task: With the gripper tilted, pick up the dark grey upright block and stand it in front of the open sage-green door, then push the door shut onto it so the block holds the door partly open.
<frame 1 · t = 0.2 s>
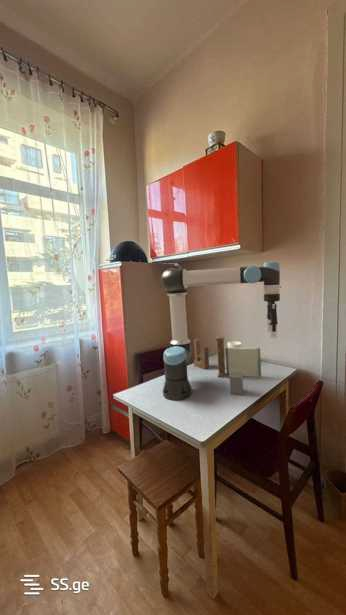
hand: (271, 334, 127), 27 cm above the table, tool pointing down, fingers open, 13 cm apart
foam cup: (235, 361, 172), on the table
door post: (222, 375, 148), on the table
door: (243, 361, 144), point 9 cm above the table, hinge at 0.0°
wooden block: (201, 367, 166), on the table
dark grey upright block: (236, 392, 126), on the table
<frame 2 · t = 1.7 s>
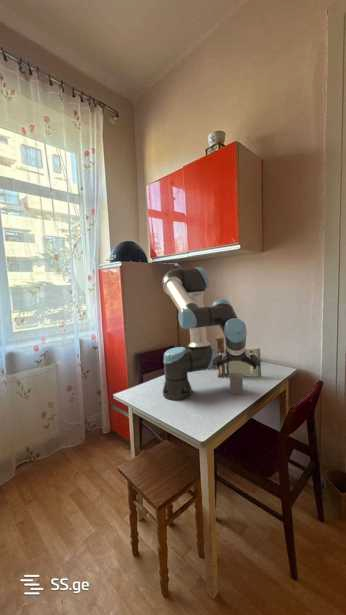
hand: (236, 370, 114), 15 cm above the table, tool tilted 45°, fingers open, 13 cm apart
nothing on the table moved.
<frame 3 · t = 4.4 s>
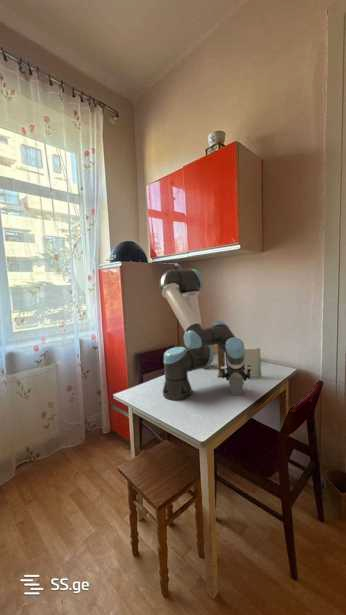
hand: (236, 381, 129), 4 cm above the table, tool tilted 45°, fingers closed on dark grey upright block, 6 cm apart
dark grey upright block: (236, 392, 126), on the table, touching gripper
everything else where it was.
when the fingers open (5 cm above the table, at t = 10.3 s): dark grey upright block stays where it is, on the table.
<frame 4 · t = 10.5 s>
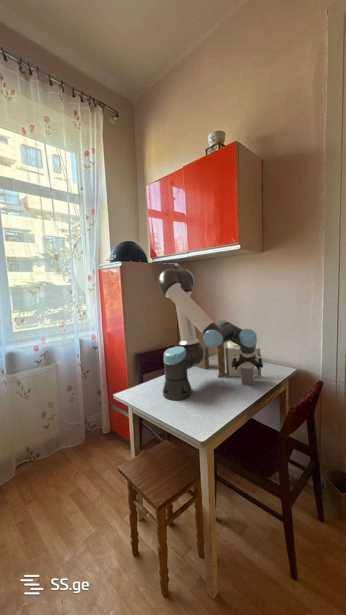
hand: (246, 371, 139), 5 cm above the table, tool tilted 45°, fingers open, 9 cm apart
dark grey upright block: (247, 382, 136), on the table
everything else where it was.
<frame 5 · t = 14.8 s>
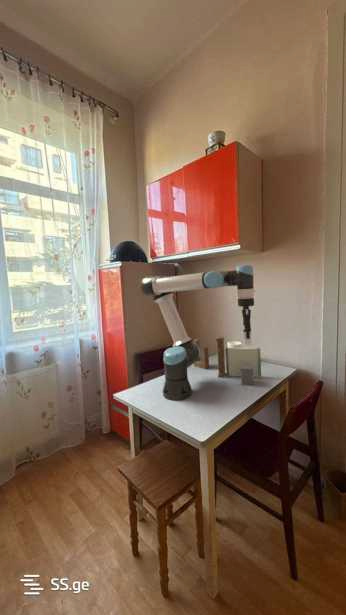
hand: (247, 341, 121), 26 cm above the table, tool pointing down, fingers open, 12 cm apart
nothing on the table moved.
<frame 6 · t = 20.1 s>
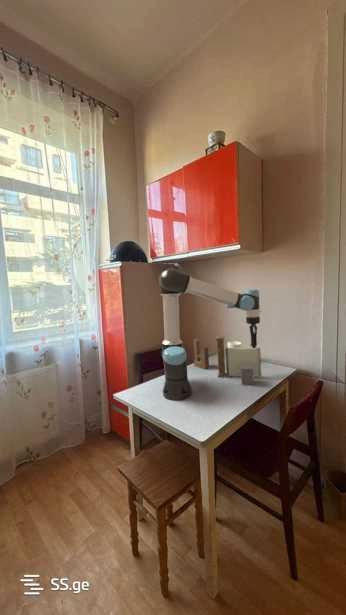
hand: (254, 355, 146), 11 cm above the table, tool pointing down, fingers closed
door: (243, 361, 144), point 9 cm above the table, hinge at -0.1°, touching gripper
everything else where it was.
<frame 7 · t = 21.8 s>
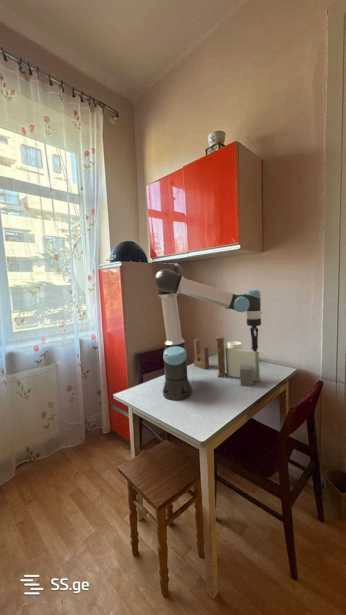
hand: (255, 359, 139), 11 cm above the table, tool pointing down, fingers closed
door: (241, 364, 141), point 9 cm above the table, hinge at -24.0°, touching dark grey upright block, gripper
dark grey upright block: (246, 383, 135), on the table, touching door
everything else where it was.
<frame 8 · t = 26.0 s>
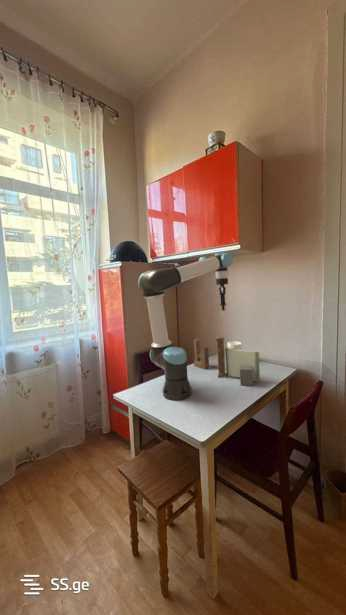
hand: (223, 315, 158), 34 cm above the table, tool pointing down, fingers closed
door: (241, 364, 141), point 9 cm above the table, hinge at -24.3°
dark grey upright block: (246, 383, 135), on the table
everything else where it was.
at the end: dark grey upright block inside the target area (1.6 cm from its centre), on the table; dark grey upright block tilted 0°; door at -24° (first picture: +0°) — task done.
